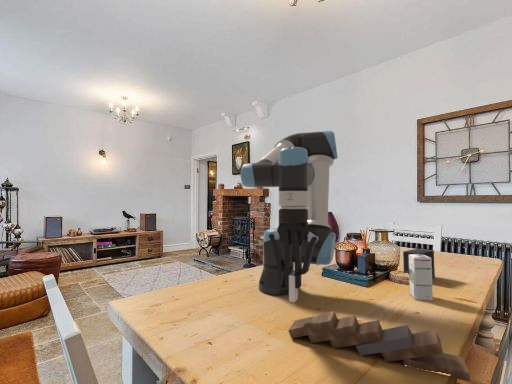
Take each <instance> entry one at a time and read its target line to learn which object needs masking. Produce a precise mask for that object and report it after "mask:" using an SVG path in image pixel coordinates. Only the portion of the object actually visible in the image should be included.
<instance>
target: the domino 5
mask: <svg viewBox="0 0 512 384" xmlns="http://www.w3.org/2000/svg"><path fill="white" fill-rule="evenodd" d="M412 340H413V348H406V349H400V350H394V351H387V352H381V355H382V356H383V358H384V361H385V362H386V363H389V362H393V361H394V362H395V361H400V360H401V361H403V359H410V358H417V357H424V356H431V355H439V354H443V353H444V352H443V347H442V343H441V338H440V336H439V334H438V332H437V331H436V329H432V330H426V331H421V332H415V333H414V332H413V333H412Z"/></svg>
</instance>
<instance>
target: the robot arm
mask: <svg viewBox="0 0 512 384" xmlns="http://www.w3.org/2000/svg"><path fill="white" fill-rule="evenodd" d="M335 135H336V134H335V132H334V131H331V130H321V131H313V132H298V133H293V134H291V135H290V134H289V135H288V136H285V137H284V138H282V139H280V140H279V141H277V142H276V144H274V147H273V148H272V150H270V151H269V152H268V153H266V155H264V156H263V157H261V158H260V159H259V160H258V161H257V162H253V163H252V162H250V163H245V164H243V165H242V166H241V169H240V181H241V183H242V185H243V186H244V187H245V188H278V206H279V207H280V208H279V209H278V226H277V227H275V228H269V229H266V230H264V233H263V241H262V244H263V245H262V251H263V252H262V253H263V254H262V255H263V257H262V258H263V261H262V263H263V266H262V267H263V268H262V271H261V274H260V277H259V281H258V290H259V291H260V292H262V293H265V294H269V295H275V296H288V302H290V303H295V302H297V300H299V295H298V293H299V289H300V288H301V287H302V275H306V274H307V273H308V272H309V271H310V267H311V265H316V266H320V265H321V266H322V265H323V266H326V265H327V266H328V265H330V264H331V263H332V261H333V259H334V253H335V247H336V239H337V238H336V237H337V235H336V233H335V232H332V231H333V230H332V227H331V226H330V224H329V221H328V220H329V193H330V192H329V190H330V167H332V165H334V160H336V159H338V151H337V144H336V137H335Z"/></svg>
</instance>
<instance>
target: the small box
mask: <svg viewBox="0 0 512 384" xmlns="http://www.w3.org/2000/svg"><path fill="white" fill-rule="evenodd" d="M409 254H421V255H426V256H428V257H430V258H431V261H432V279H434V278H435V277H436V274H435V272H436V270H435V250H433V249H427V248H426V249H425V248H424V249H423V248H415V249H408V250H405V251H402V256H403V257H402V258H403V274H404V273H408V274H409Z"/></svg>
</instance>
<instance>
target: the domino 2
mask: <svg viewBox="0 0 512 384" xmlns="http://www.w3.org/2000/svg"><path fill="white" fill-rule="evenodd" d="M337 319H338V320H337V322H336V325H335V328H334V329H333V330H329V331H324V332H319V333H315V334H310V335H307V336H308V339H309V341H310V344H315V343H322V342H324V341H330V340H331V339H336V338H341V337H346V336H351V335H356V334H357V329H358V324H359V321H358V319H357V315H350V316H349V315H348V316H346V317H345V316H344V317H341V318H340V317H339V318H337Z"/></svg>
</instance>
